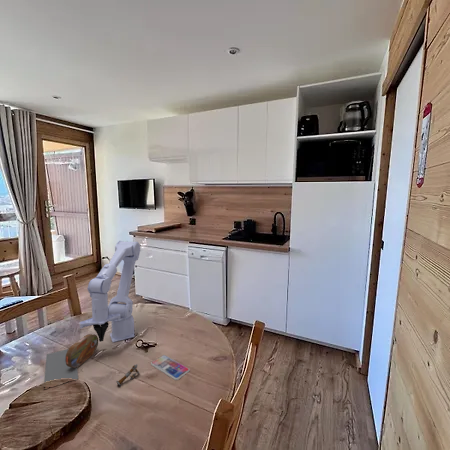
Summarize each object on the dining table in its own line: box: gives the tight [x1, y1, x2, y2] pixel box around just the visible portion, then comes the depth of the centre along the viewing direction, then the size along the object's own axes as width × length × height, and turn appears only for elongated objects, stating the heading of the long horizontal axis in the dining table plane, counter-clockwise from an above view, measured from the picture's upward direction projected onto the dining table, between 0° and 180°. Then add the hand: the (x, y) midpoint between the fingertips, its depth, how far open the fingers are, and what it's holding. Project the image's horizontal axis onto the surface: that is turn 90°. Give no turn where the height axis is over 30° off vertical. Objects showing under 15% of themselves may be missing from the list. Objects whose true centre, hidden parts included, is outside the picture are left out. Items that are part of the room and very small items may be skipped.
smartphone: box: [150, 354, 191, 381], centre depth 99 cm, size 7×1×15 cm
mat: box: [43, 348, 79, 383], centre depth 98 cm, size 10×22×1 cm, turn 32°
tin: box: [65, 333, 99, 369], centre depth 101 cm, size 15×3×8 cm, turn 169°
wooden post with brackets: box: [115, 364, 140, 388], centre depth 91 cm, size 2×8×4 cm, turn 139°
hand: (101, 340), depth 104 cm, fingers closed
